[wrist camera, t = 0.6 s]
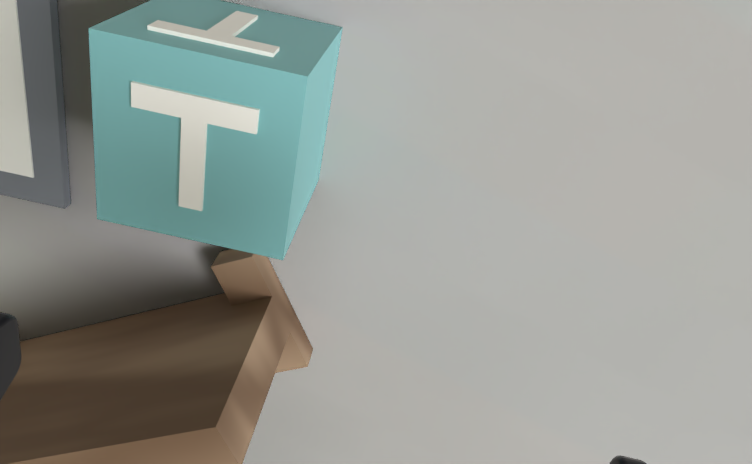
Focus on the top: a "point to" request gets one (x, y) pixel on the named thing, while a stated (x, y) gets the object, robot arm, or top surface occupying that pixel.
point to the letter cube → (210, 120)
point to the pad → (32, 104)
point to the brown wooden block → (157, 378)
